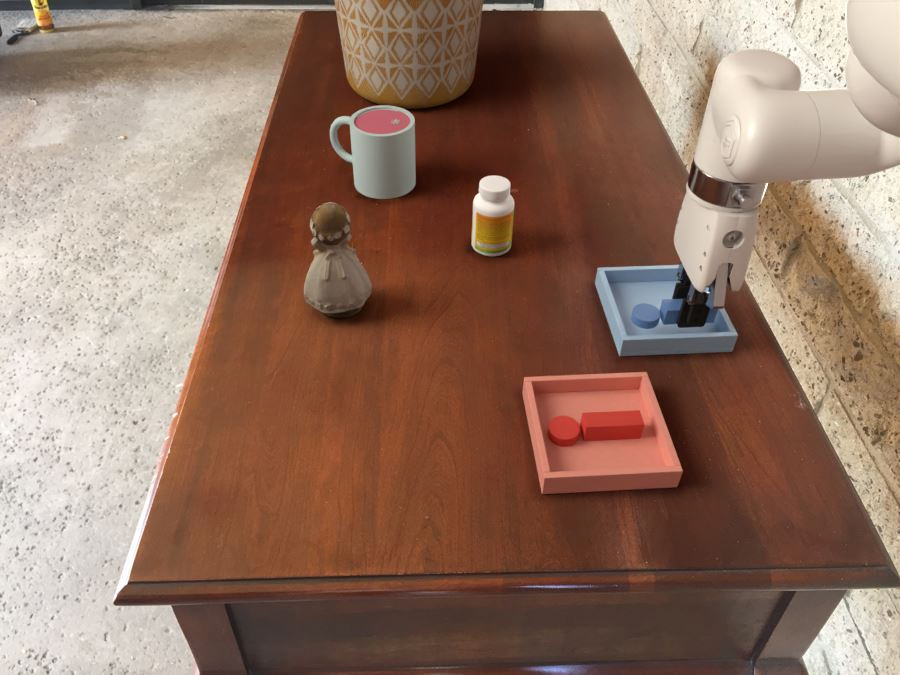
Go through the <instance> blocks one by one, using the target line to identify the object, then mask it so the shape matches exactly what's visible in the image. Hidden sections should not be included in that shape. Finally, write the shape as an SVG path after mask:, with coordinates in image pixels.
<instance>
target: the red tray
mask: <svg viewBox="0 0 900 675" xmlns="http://www.w3.org/2000/svg"><path fill="white" fill-rule="evenodd" d="M522 399H523V404H524V409H525V414H526V420H527V425H528V430H529V435H530V440H531V446H532V451H533V457H534V460H535V465H536V466H535V467H536V471H537V476H538V482H539V487H540V490H541V494H542V495H554V494H555V495H556V494H573V493H574V494H575V493H592V492H593V493H595V492H610V491H611V492H613V491H630V490H632V491H633V490H650V489H669V488H671V489H672V488H678V486H679V484H680V480H681V478H682V476H683V472H684V469H683V467H682V464H681V462H680V459H679V456H678V453H677V451H676V448H675V446H674V443H673V440H672V437H671V435H670V434H671V433H670V432H669V429H668V426H667V424H666V421H665V417H664V415H663V413H662V409H661V406H660V405H659V404H660V403H659V402H658V399H657V397H656V393H655V390H654V388H653V384H652V382H651V380H650V377H649V374H648V372H647V371H636V372H611V373H610V372H609V373H589V374H587V373H585V374H563V375H562V374H561V375H539V376H524V377H523V385H522ZM634 410H640V413H641V415H642V418H643V421H644V424H645V425H644V429H643V432H642V436H641V438H640V439H619V440H598V441H583V438H582V434H581V430H580V433H579V438H578V441H577V442H576V443H575V444H574V445H572V446H568V447H562V446H558V445H556V444H554V443H553V442H551V440H550V439H549V437H548V426H549V422H550V421H551V420H552V419H553V418H554V417H557V416H569V417H571V418H573V419H575V420H576V421H577V422H578V424H579V426H580V423H581V418H582V413H589V412H611V411H634Z"/></svg>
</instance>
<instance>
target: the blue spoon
mask: <svg viewBox="0 0 900 675" xmlns="http://www.w3.org/2000/svg"><path fill="white" fill-rule="evenodd" d="M682 302H683V299H663V300H662V303H661V307H660V311H659V309H658V308H657V307H655V306H653V305H651V304H647V303H641V304H638V305H636V306H634V308H633V310H632V314H631V321H632V322H633V324H635V325H636V326H638V327H640V328H643V329H651V328H654V327H656V326H657V325H658V323H659V320H660V318H661V320H662V323H663V325H668V324H677V323H676V322H677V319H678V315H679V312H680V308H681V305H682ZM717 311H718V309H710V311H709V314H708V317H707V320H706V323H714V321H715V318H716V315H717Z"/></svg>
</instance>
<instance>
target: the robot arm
mask: <svg viewBox="0 0 900 675" xmlns="http://www.w3.org/2000/svg"><path fill="white" fill-rule="evenodd" d="M844 24H845V32H846V38H847V40H848V44H849V46H850V47H849V48H848V50H847V51H848V52H847V55H846V58H845V64H844V72H845V73H844V76H845V77H844V78H845V83H846V84H845V86H846V87H845V88H844V87H843V88H841V87H840V88H839V87H838V88H821V89H801V87H802V83H803V81H802V79H803V75H802V71H801V69H800V66H799V65H798V64H797V63H796V62H795V61H794V60H792V59H791V58H790V57H788V56H786V55H784V54H781V53H779V52H775V51H771V50H766V49H755V48H754V49H753V48H748V49H746V48H745V49H738V50H736V51H733V52H731V53H728V54H727V55H725V57H724V58H722V59H721V61H720V62H719V64H718V65H717V67H716V70H715V73H714V76H713V80H712V83H711V88H710V93H709V96H708V100H707V103H706V107H705V111H704V115H703V118H702V122H701V126H700V130H699V135H698V138H697V143H696V146H695V149H694V154H693V158H692V161H691V165H690V170H689V173H688V177H687V181H686V185H685V188H686V192H685V194H684V198H683V201H682V204H681V207H680V210H679V214H678V216H677V220H676V224H675V229H674V233H673V245H674V248H675V251H676V253H677V255H678V258H679V264H678V265H679V268H678V271H677V281H678V282H680V281H681V282H680V283H676V285H675V289H674V293H673V296H672V299H683V302H682V305H681V308H680V312H679V315H678V319H677V322H676V323H677V326H678V327H679V328H689V327H703V326H704V325H705V323H706V320H707V317H708V314H709V311H710V309H723V308H724V309H725V303H726V294H727V285H728V288H729V289H730V292H736V293H737V292H739V291H740V290H741V288H742V286H743V284H744V282H745V278H746V275H747V271H748V269H749V264H750V261H751V257H752V253H753V250H754V244H755V240H756V235H757V229H758V224H759V214H760V210H759V207H760V205H761V204H762V202H763V200H764V196H765V193H766V190H767V188H768V184H777V183H793V182H802V181H819V180H820V181H821V180H835V179H837V180H838V179H840V180H841V179H854V178H862V177H867V176H871V175H875V174H878V173H882V172H884V171H887V170H889V169H893V168H895V167H897V166H900V0H846V1H845V12H844ZM705 288H709V290H708V292H704V291H705V290H706V289H705Z"/></svg>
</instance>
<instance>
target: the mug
mask: <svg viewBox="0 0 900 675" xmlns="http://www.w3.org/2000/svg"><path fill="white" fill-rule="evenodd" d="M342 125H347V126H349V134H350V147H351V154H350V153H349V152H347V151H346V150H345V149H344V148H343V146H342V145H341V143H340V140H339V137H338V130H339V128H340V127H341V126H342ZM329 140H330V143H331V146H332V148H333V150H334V151H335V152H336V154H337V155H338V156H339V157H340V158H341V159H342V160H343V161H345V162H347V163H350V164H352V174H353V185H354V188H355V190H356V191H357V192H358V193H359V194H361V195H363V196H365V197H367V198H371V199H377V200H391V199H396V198H400V197H403V196H405V195H407V194H409V193H410V192H411V191H412V190H414V188H415V187H416V184H417V175H416V168H417V167H416V120H415V116H414V114H413V113H411V111H409V110H408V109H403V108H400V107H396V106H388V105H379V104H378V105H372V106H368V107H363V108H361V109H359V110H357V111H356V112H354V113H353V114H351V116H350V115H342V116H339V117H336V118H335V119H334V120H333V122H332V123H331V124H330V128H329Z"/></svg>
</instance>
